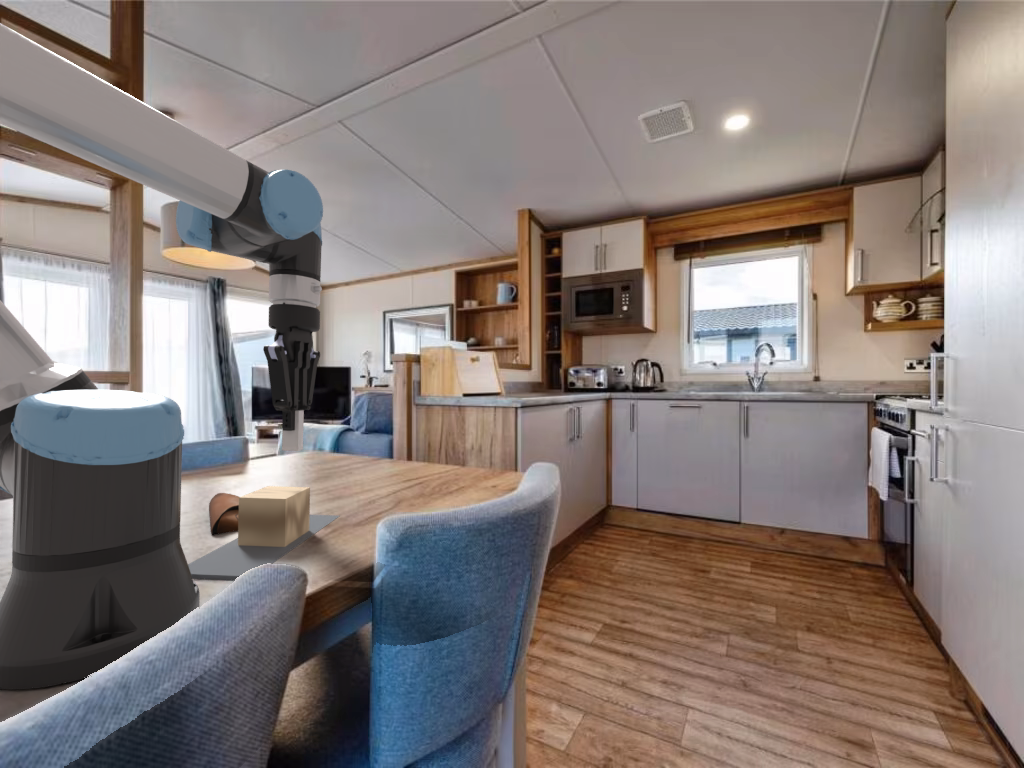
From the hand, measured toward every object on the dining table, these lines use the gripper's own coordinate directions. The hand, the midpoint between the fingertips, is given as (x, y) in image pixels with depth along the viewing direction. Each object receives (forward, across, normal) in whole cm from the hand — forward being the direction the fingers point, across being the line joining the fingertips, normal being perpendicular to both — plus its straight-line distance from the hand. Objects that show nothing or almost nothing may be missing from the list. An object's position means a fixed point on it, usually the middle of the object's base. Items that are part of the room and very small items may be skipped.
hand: (292, 450), depth 71 cm
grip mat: (+13, -5, 0) cm, 14 cm away
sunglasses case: (+14, +5, +13) cm, 20 cm away
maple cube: (+9, -1, 0) cm, 9 cm away
